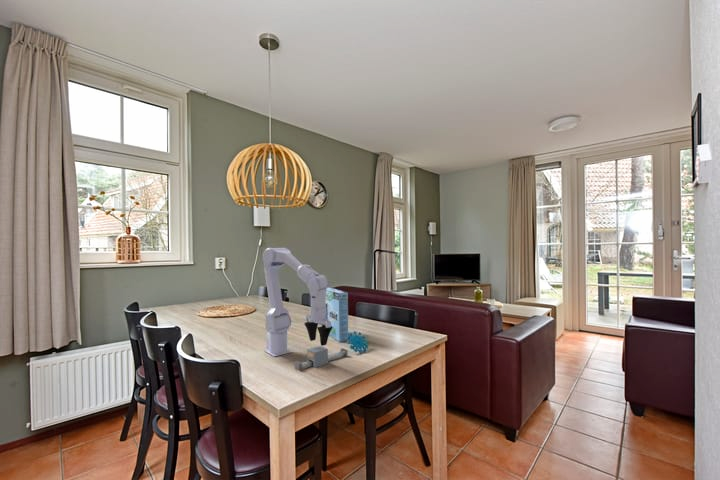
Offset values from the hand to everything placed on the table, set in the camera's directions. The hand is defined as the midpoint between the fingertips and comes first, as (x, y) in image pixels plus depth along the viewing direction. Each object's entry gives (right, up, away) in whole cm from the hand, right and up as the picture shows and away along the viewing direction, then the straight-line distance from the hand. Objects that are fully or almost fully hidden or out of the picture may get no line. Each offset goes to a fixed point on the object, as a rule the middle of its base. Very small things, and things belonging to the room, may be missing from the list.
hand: (318, 342), depth 122 cm
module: (0, -8, 0) cm, 8 cm away
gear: (+16, -8, +14) cm, 23 cm away
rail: (+2, -8, +1) cm, 8 cm away
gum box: (+4, -8, +35) cm, 36 cm away
